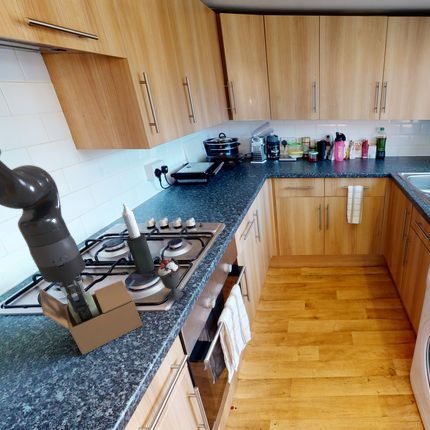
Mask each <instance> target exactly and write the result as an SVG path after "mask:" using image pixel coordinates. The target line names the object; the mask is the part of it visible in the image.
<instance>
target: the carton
mask: <svg viewBox="0 0 430 430" xmlns="http://www.w3.org/2000/svg"><path fill="white" fill-rule="evenodd" d="M93 292H94V293H91V295H92V298H93V300H94V302H95V304H96V306H97V309H98V312H99V314H98V315H96V316H94V317H92V318H91V319H89V320H87V321H84V322H80V323H78V324H77V323H76V321H75V319H74V317H73V316H72V314H71V312H70V310H69V306H68V303H67V304H65V305H63V306H64V310H65V314H66V318H67V322H68V326H69V327H68V331H69V332H70V334H71V337H72V339H73V340H74V342H75V344H76V346H77V347H78V349H79V351H80V353H81V354H82V356H84V355H86V354H88V353H90V352H92V351H95V350H96V349H98V348H100V347H102V346H104V345H106V344H108V343H110V342H112V341H114V340H115V339H118V338H120V337H122V336H124V335H126V334H128V333H129V332H132V331H134V330H136V329H138V328H140V327H142V326H143V325H144V324H143V322H142V319H141V317H140V313H139V311H138V309H137V306H136V303H135V301H134V300H133V298H132V296H131V294H130V292H129V291H128V289H127V287H126V285H125V283H124V281H123V280H122V279H121V280H119V281H116V282H113V283H110V284H108V285H106V286H104V287H101V288H98V289H96V290H94V291H93Z"/></svg>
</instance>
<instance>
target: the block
mask: <svg viewBox="0 0 430 430" xmlns="http://www.w3.org/2000/svg"><path fill="white" fill-rule="evenodd" d="M86 295H87V296H86V297H85V299H86V301H87V303H88V304H89V309H90V311H91V313H92V315H93V317H94V316H96V315H98V314H99V312H98V309H97V306H96V304H95V302H94V300H93V298H92V293H91V292H90V291H88V292H86ZM66 301H67V300H66ZM67 304H68V306H69V310H70V312H71V314H72V316H73V317H74V319H75V321H76V323H77V324H78V323H80V322H83V321H81V319H80V317H79V315H78V313H76V312H74V309H73V307H72V305H71V303H68V301H67Z"/></svg>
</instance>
